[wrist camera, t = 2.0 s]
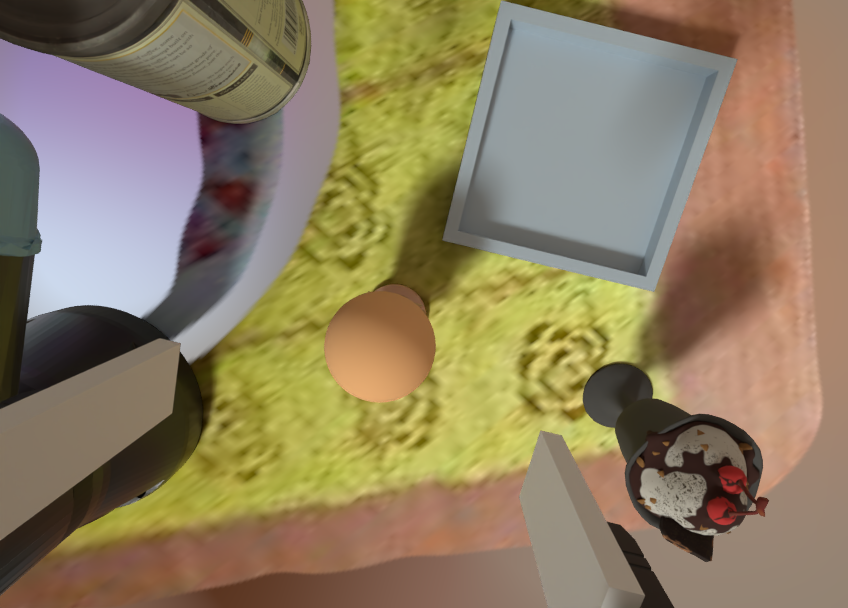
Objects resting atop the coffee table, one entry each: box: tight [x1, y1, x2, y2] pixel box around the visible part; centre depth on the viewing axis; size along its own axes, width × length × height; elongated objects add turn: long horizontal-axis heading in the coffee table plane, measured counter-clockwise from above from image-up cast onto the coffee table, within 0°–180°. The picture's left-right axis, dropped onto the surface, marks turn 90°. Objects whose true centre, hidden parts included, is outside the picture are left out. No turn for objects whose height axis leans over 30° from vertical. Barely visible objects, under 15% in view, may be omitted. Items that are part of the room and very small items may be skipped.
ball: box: [324, 291, 436, 402], centre depth 24 cm, size 6×6×6 cm
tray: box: [443, 0, 737, 292], centre depth 28 cm, size 14×14×2 cm
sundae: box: [583, 364, 769, 562], centre depth 25 cm, size 7×7×15 cm
